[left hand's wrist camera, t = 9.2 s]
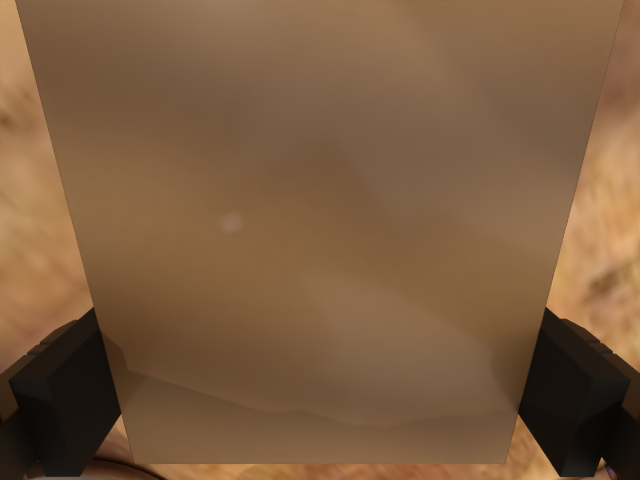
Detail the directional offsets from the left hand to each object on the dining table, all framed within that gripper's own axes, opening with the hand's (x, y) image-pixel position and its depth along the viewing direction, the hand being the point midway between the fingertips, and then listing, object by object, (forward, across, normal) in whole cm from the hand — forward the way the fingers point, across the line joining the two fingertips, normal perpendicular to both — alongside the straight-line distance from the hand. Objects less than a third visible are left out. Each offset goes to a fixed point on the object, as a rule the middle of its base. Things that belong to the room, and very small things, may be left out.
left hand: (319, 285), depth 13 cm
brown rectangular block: (+5, 0, -6) cm, 8 cm away
